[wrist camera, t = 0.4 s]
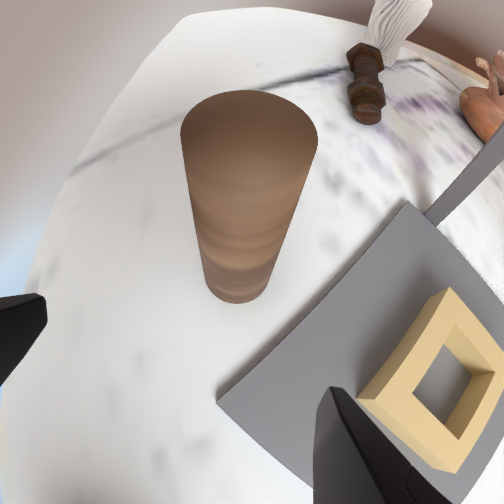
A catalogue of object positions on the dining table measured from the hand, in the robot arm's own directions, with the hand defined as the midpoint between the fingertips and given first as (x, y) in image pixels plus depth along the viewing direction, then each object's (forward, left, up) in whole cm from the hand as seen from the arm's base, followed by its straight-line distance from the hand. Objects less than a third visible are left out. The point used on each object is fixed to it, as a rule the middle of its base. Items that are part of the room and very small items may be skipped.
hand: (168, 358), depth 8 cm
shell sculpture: (+35, -36, -13) cm, 52 cm away
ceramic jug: (+17, -50, -13) cm, 55 cm away
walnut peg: (+6, -4, -13) cm, 15 cm away
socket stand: (-6, -19, -13) cm, 24 cm away
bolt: (+25, -26, -13) cm, 39 cm away
